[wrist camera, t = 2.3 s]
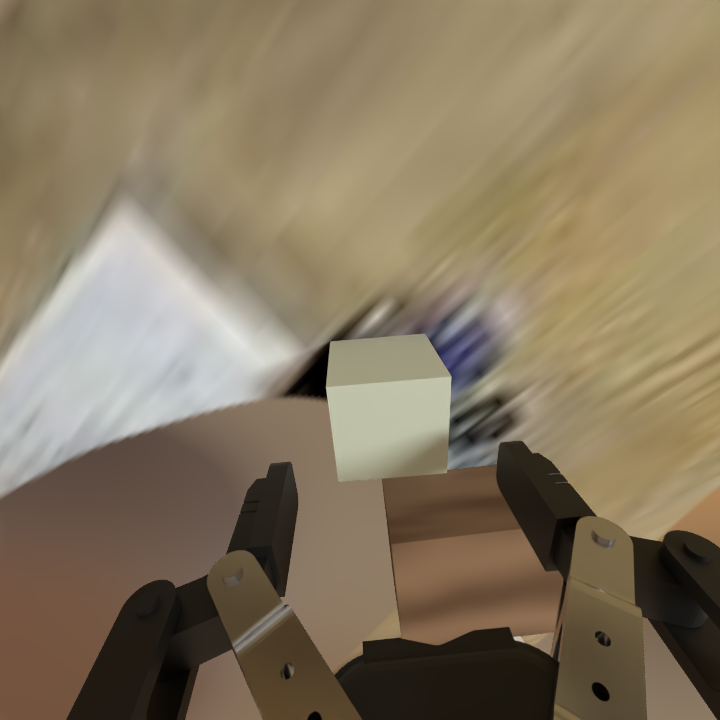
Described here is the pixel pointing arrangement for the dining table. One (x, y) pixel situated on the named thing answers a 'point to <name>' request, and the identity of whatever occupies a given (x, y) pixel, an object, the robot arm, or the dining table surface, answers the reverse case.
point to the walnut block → (463, 559)
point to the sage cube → (388, 407)
